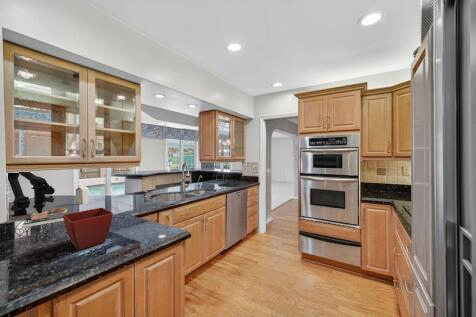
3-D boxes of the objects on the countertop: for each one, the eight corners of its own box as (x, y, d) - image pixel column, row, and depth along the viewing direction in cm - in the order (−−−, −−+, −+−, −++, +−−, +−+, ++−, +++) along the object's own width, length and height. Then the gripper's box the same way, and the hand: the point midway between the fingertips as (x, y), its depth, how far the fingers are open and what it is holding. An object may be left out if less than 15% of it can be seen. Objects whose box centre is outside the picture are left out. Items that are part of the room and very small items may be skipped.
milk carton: (89, 203, 198) (88, 184, 197) (82, 205, 191) (82, 185, 190) (82, 203, 199) (81, 184, 198) (76, 205, 192) (75, 185, 191)
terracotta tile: (31, 222, 147) (31, 219, 147) (32, 216, 155) (32, 214, 154) (46, 219, 152) (46, 216, 152) (47, 214, 160) (46, 212, 160)
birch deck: (29, 220, 152) (29, 218, 152) (31, 215, 163) (31, 213, 163) (67, 213, 167) (67, 212, 167) (66, 210, 177) (66, 208, 177)
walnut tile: (50, 214, 162) (50, 211, 162) (51, 211, 169) (51, 208, 169) (64, 212, 167) (63, 209, 167) (63, 209, 175) (63, 207, 174)
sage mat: (21, 228, 137) (21, 227, 137) (25, 219, 153) (25, 219, 153) (71, 219, 154) (71, 218, 154) (70, 212, 170) (70, 212, 170)
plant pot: (102, 233, 128) (102, 206, 127) (114, 241, 116) (113, 212, 115) (63, 244, 113) (62, 214, 112) (72, 255, 101) (70, 222, 100)
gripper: (53, 194, 156) (54, 214, 156) (53, 191, 170) (54, 209, 170) (32, 197, 148) (33, 218, 149) (34, 193, 162) (35, 212, 163)
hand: (40, 214), depth 158 cm, fingers closed
